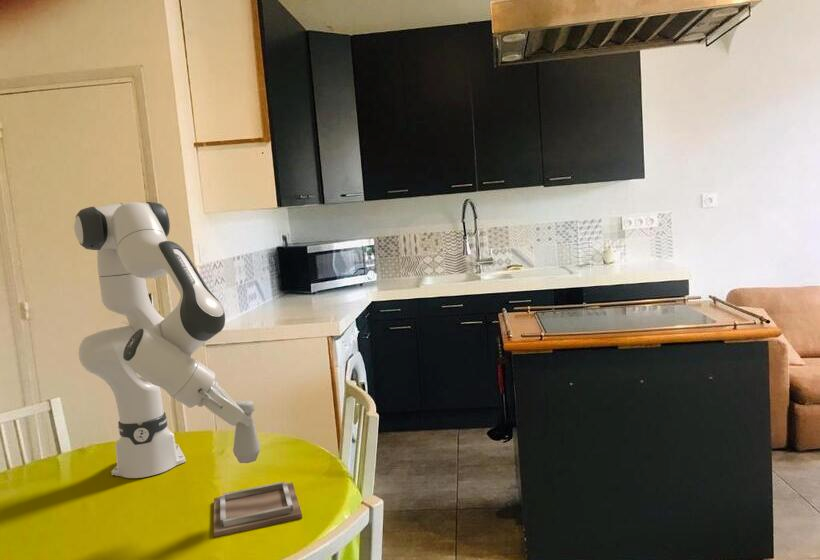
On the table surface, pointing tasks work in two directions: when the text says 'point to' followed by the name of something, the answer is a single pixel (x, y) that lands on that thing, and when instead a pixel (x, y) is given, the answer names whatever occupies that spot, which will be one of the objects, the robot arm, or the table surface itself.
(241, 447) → the salt shaker
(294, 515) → the socket plate
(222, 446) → the table surface
